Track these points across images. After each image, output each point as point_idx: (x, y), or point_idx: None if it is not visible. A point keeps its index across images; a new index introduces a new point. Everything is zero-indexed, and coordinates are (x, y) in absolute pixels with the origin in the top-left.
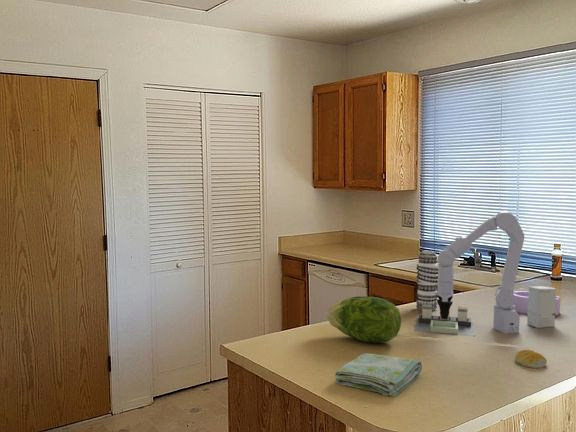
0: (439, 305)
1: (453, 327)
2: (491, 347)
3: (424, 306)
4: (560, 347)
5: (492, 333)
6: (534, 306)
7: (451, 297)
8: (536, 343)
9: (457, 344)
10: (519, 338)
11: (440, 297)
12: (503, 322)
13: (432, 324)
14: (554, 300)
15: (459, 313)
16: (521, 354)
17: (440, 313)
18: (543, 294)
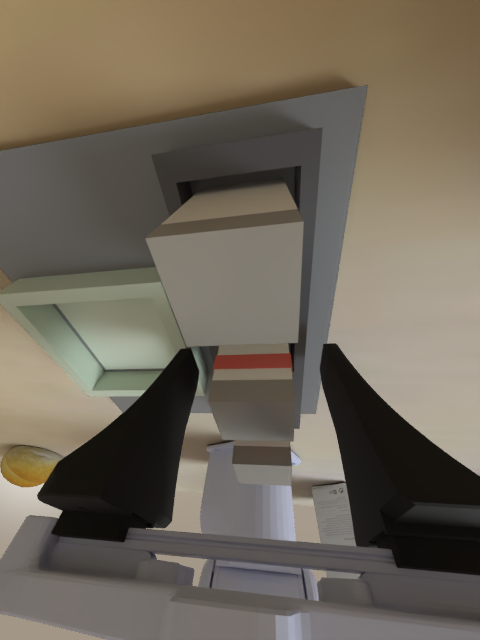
0: (93, 441)
1: None
2: (75, 426)
3: (158, 268)
4: (180, 486)
5: (214, 434)
6: None
7: (355, 535)
8: (181, 473)
9: (9, 370)
10: (201, 462)
11: (381, 492)
12: (205, 490)
13: (56, 301)
14: None
15: None
16: (10, 469)
17: (215, 361)
18: None
